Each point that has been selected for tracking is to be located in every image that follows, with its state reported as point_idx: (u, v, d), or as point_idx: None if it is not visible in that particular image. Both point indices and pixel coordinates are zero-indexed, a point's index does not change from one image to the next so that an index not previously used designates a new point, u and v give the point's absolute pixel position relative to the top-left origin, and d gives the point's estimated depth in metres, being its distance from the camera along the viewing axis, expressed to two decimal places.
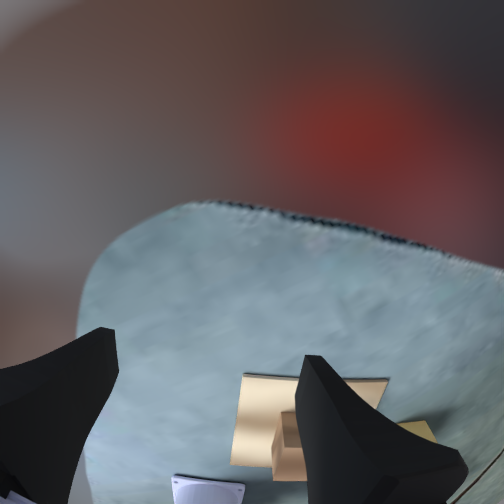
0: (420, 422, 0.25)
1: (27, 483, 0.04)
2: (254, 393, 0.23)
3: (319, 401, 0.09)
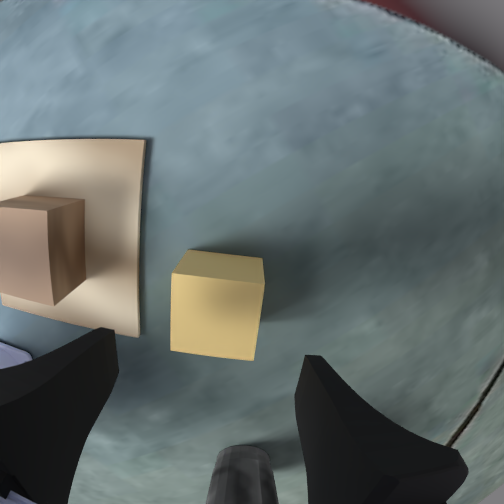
0: (249, 257, 0.18)
1: (27, 483, 0.04)
2: (1, 166, 0.16)
3: (319, 401, 0.09)
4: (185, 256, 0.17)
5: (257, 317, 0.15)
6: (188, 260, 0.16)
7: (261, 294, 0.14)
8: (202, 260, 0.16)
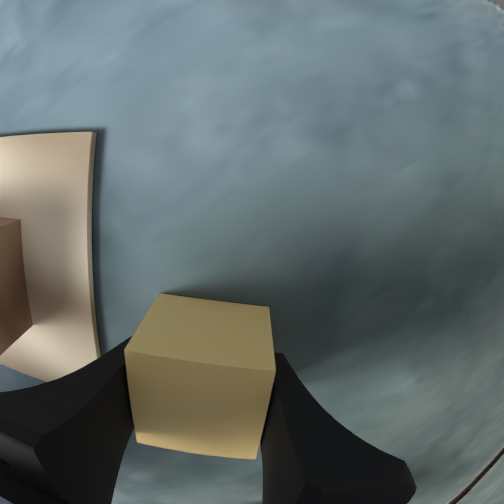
0: (250, 308, 0.12)
1: None
2: None
3: (272, 399, 0.09)
4: (152, 309, 0.11)
5: (262, 413, 0.09)
6: (156, 318, 0.10)
7: (269, 384, 0.08)
8: (177, 317, 0.10)
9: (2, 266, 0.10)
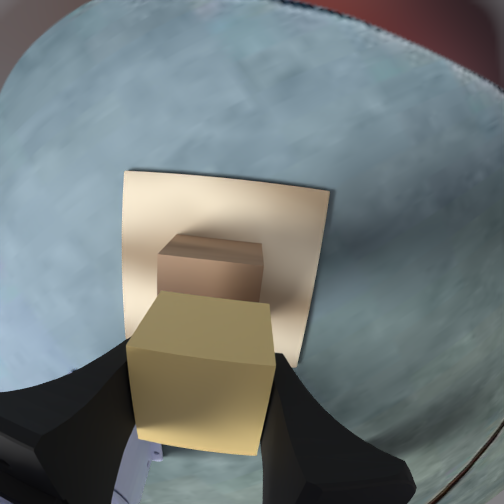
0: (250, 305, 0.12)
1: None
2: (139, 198, 0.18)
3: (272, 399, 0.09)
4: (154, 306, 0.11)
5: (263, 408, 0.09)
6: (157, 315, 0.10)
7: (270, 380, 0.08)
8: (178, 314, 0.10)
9: None
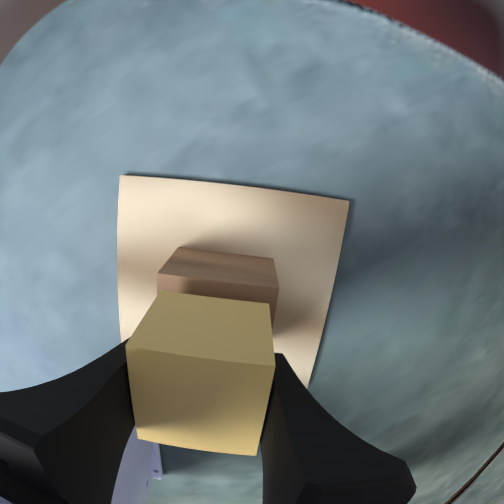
0: (250, 305, 0.12)
1: None
2: (136, 207, 0.16)
3: (272, 399, 0.09)
4: (153, 306, 0.11)
5: (262, 408, 0.09)
6: (157, 315, 0.10)
7: (269, 379, 0.08)
8: (178, 314, 0.10)
9: None
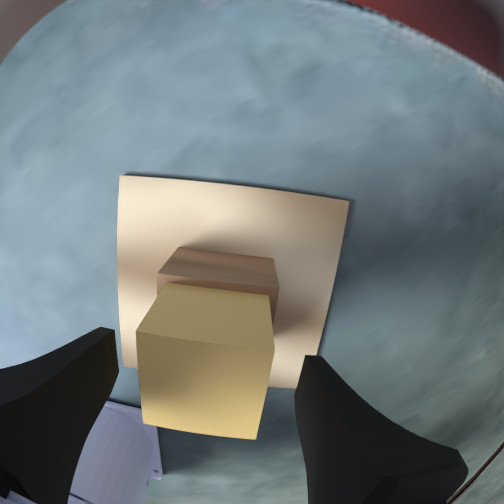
0: (251, 296, 0.13)
1: (27, 483, 0.04)
2: (136, 207, 0.16)
3: (319, 401, 0.09)
4: (160, 296, 0.11)
5: (262, 392, 0.10)
6: (164, 304, 0.11)
7: (269, 363, 0.09)
8: (184, 303, 0.11)
9: None
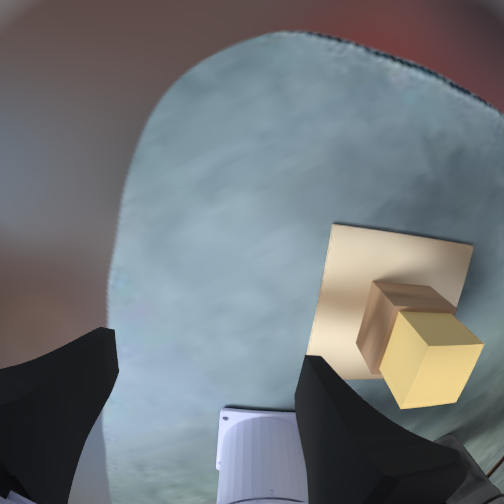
0: (445, 315, 0.17)
1: (27, 483, 0.04)
2: (345, 250, 0.20)
3: (319, 401, 0.09)
4: (409, 322, 0.16)
5: (471, 369, 0.14)
6: (418, 327, 0.15)
7: (480, 352, 0.14)
8: (425, 325, 0.16)
9: None
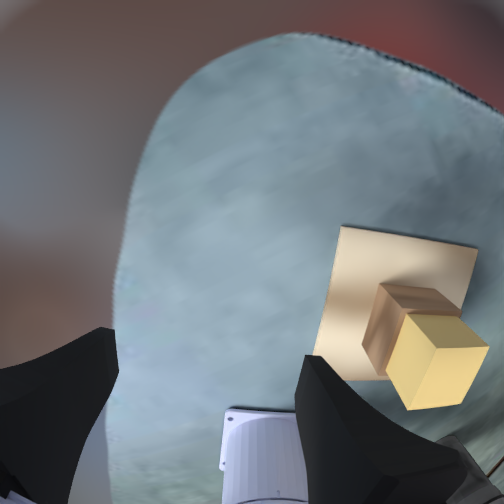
0: (451, 318, 0.17)
1: (27, 483, 0.04)
2: (353, 253, 0.20)
3: (319, 401, 0.09)
4: (417, 324, 0.16)
5: (476, 371, 0.14)
6: (426, 329, 0.15)
7: (485, 354, 0.14)
8: (433, 327, 0.16)
9: None
